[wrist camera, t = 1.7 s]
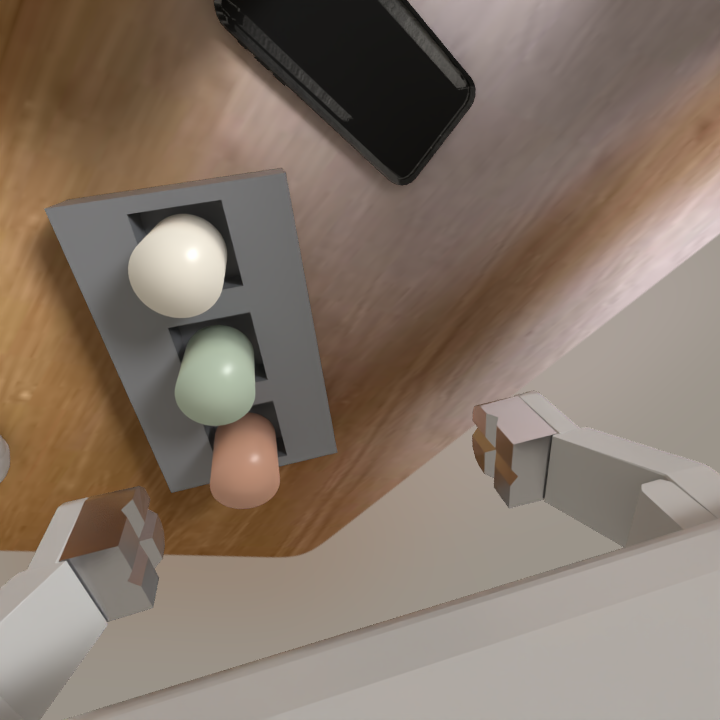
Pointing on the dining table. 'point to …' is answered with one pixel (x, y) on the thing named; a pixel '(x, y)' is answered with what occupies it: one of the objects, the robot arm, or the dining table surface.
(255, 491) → the terracotta button
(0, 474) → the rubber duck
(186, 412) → the sage button
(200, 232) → the ivory button
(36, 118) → the dining table surface
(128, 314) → the grey rectangular tray
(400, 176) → the phone
